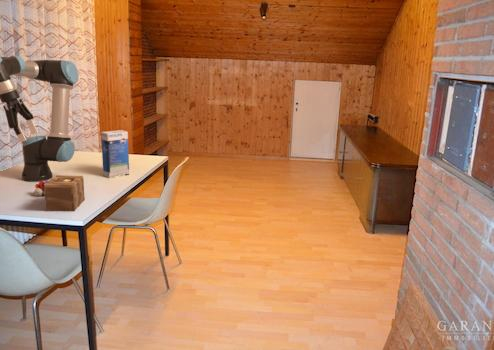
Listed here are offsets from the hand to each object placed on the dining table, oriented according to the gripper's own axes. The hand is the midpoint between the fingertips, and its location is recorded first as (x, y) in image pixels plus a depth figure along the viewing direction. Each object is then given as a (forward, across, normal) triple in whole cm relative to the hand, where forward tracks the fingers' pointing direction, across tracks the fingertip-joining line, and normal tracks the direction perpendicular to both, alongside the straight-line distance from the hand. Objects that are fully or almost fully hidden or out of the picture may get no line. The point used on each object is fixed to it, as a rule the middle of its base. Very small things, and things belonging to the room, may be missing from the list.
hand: (29, 137), depth 190 cm
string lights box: (+41, -45, +15) cm, 63 cm away
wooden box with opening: (+33, +10, +6) cm, 35 cm away
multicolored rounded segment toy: (+30, -7, -9) cm, 32 cm away
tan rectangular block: (+32, +10, +6) cm, 34 cm away
